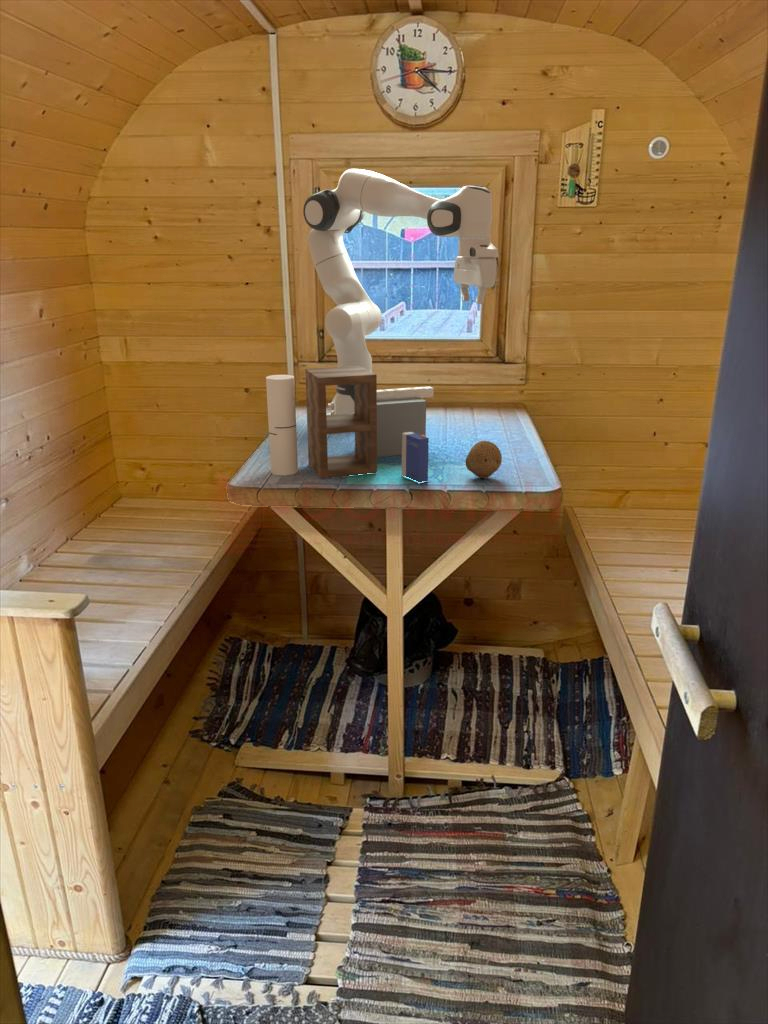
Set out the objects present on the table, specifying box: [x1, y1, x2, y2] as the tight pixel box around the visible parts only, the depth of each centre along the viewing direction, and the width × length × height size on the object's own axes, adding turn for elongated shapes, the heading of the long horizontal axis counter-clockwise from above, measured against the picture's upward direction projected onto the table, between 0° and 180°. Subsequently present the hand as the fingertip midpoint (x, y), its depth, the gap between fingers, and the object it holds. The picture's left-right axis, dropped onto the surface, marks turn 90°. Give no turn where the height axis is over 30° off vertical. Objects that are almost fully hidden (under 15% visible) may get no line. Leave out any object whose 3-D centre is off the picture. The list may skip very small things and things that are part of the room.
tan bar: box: [377, 385, 435, 401], centre depth 217 cm, size 3×20×3 cm, turn 109°
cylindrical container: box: [265, 374, 299, 476], centre depth 197 cm, size 7×7×25 cm
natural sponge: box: [464, 440, 503, 480], centre depth 193 cm, size 9×9×10 cm
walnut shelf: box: [304, 366, 378, 480], centre depth 199 cm, size 14×15×26 cm
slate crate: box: [377, 398, 427, 458], centre depth 219 cm, size 12×16×15 cm
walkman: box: [401, 432, 430, 482], centre depth 193 cm, size 8×3×12 cm, turn 33°
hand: (472, 302), depth 212 cm, fingers open, 8 cm apart
